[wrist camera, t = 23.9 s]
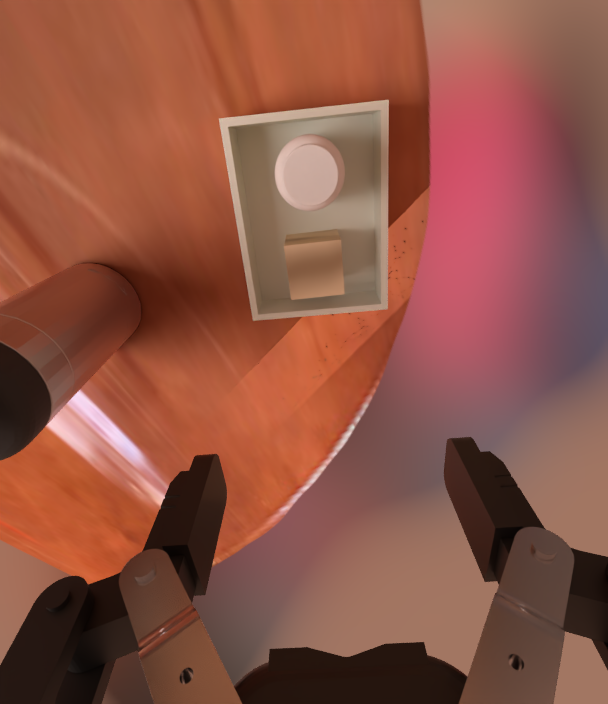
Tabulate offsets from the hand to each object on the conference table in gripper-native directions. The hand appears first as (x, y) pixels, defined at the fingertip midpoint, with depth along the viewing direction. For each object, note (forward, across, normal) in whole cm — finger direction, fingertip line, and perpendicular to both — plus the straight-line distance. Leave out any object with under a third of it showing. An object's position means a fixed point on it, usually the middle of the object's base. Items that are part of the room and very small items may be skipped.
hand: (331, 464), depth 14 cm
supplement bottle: (+29, 0, -8) cm, 30 cm away
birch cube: (+29, 0, 0) cm, 29 cm away
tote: (+30, 0, -4) cm, 30 cm away
